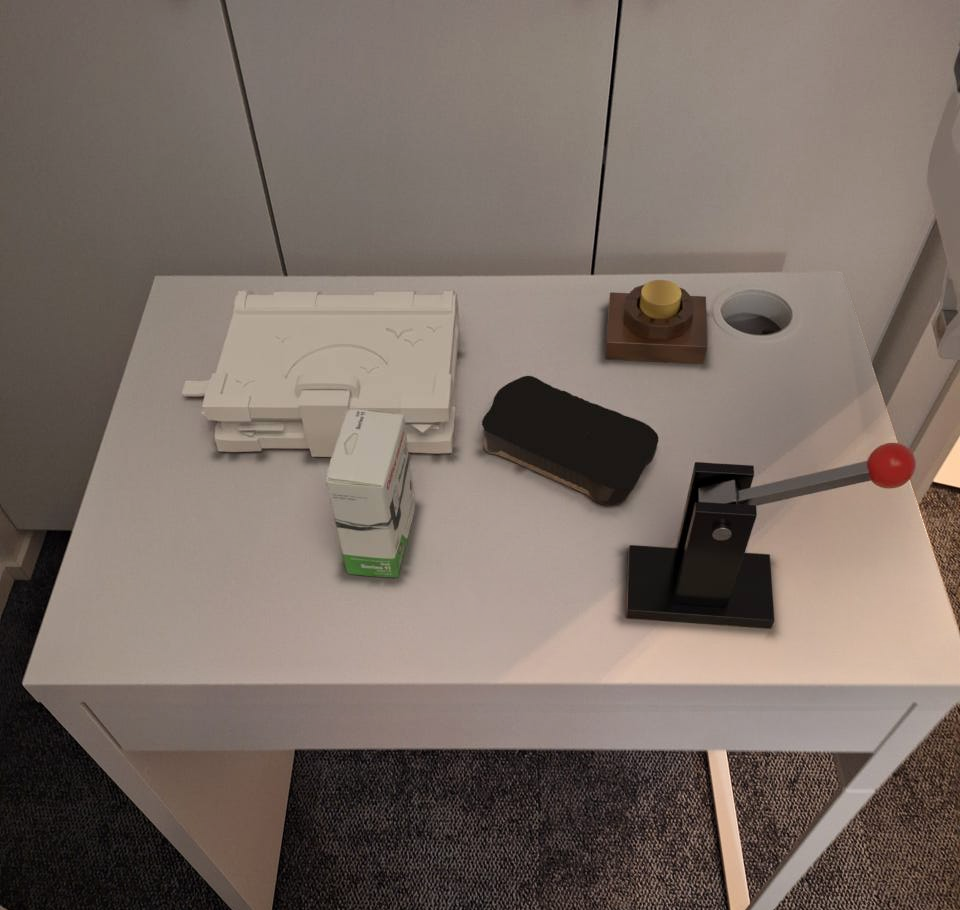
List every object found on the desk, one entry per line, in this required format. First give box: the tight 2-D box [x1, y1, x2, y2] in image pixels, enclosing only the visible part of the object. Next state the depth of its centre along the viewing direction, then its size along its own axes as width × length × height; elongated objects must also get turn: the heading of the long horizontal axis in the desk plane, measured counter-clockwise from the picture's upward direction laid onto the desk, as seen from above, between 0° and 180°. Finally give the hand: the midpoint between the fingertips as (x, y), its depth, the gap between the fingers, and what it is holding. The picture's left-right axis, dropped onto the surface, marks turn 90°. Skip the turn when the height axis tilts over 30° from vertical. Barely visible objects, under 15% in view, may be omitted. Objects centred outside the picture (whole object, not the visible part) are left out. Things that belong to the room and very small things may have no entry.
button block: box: [605, 284, 708, 365], centre depth 97 cm, size 10×8×4 cm
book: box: [181, 289, 460, 458], centre depth 93 cm, size 19×28×8 cm
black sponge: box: [481, 375, 660, 507], centre depth 89 cm, size 16×8×4 cm, turn 56°
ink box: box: [325, 407, 416, 579], centre depth 80 cm, size 9×5×12 cm, turn 171°
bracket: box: [625, 461, 776, 630], centre depth 76 cm, size 12×7×13 cm, turn 84°
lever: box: [698, 442, 917, 507], centre depth 69 cm, size 15×3×3 cm, turn 84°
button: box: [640, 279, 682, 319], centre depth 95 cm, size 4×4×2 cm
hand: (947, 343), depth 58 cm, fingers closed
